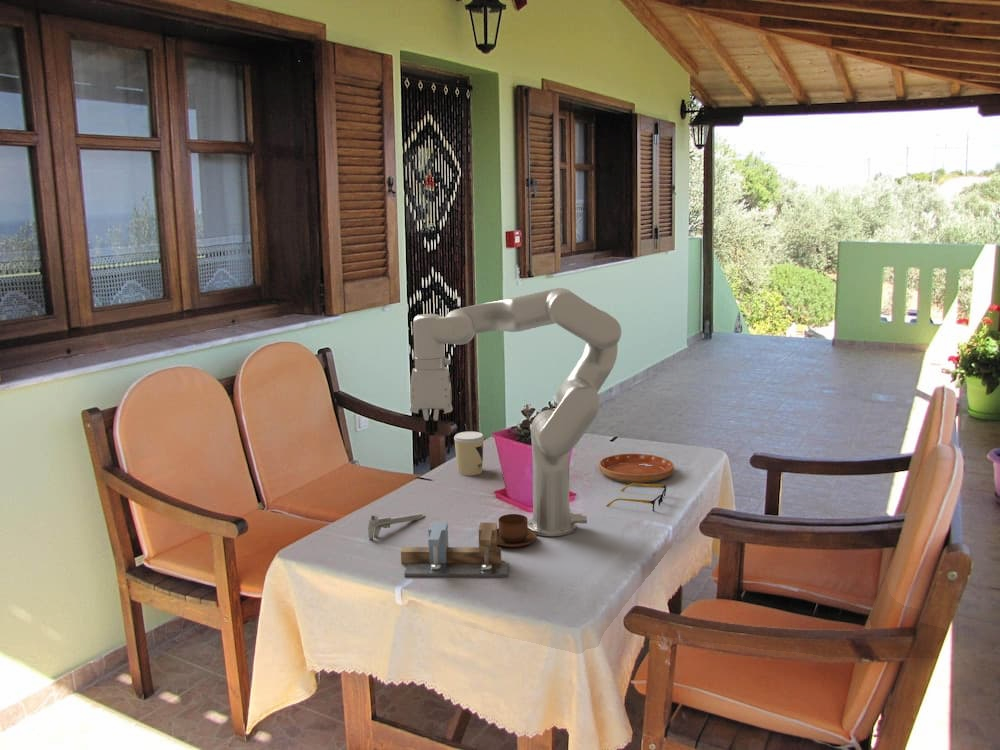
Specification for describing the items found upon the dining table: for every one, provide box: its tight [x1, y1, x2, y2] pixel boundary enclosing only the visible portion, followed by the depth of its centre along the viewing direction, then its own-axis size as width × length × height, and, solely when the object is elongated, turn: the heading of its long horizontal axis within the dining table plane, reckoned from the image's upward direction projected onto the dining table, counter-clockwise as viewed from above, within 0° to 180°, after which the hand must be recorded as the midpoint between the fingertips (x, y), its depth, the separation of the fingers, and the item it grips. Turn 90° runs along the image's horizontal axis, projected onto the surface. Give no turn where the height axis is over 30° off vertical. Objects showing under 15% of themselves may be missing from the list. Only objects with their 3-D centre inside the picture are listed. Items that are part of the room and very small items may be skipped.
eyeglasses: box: [605, 483, 667, 512], centre depth 263 cm, size 14×14×4 cm
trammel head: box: [427, 521, 449, 564], centre depth 221 cm, size 4×11×9 cm, turn 177°
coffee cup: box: [453, 431, 485, 477], centre depth 291 cm, size 9×9×12 cm
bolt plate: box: [403, 563, 510, 578], centre depth 218 cm, size 24×6×2 cm, turn 87°
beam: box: [400, 522, 502, 565], centre depth 220 cm, size 24×11×9 cm, turn 87°
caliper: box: [367, 512, 426, 540], centre depth 246 cm, size 21×1×6 cm, turn 142°
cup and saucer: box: [497, 513, 538, 548], centre depth 235 cm, size 12×12×6 cm
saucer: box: [598, 453, 675, 484], centre depth 287 cm, size 23×23×4 cm
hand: (432, 434), depth 236 cm, fingers closed
